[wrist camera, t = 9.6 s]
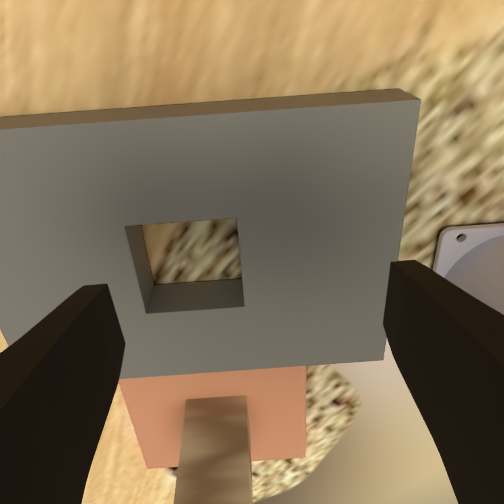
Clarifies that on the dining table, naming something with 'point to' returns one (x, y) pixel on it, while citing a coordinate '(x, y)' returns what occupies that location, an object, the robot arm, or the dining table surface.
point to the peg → (215, 452)
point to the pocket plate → (211, 208)
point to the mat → (220, 385)
